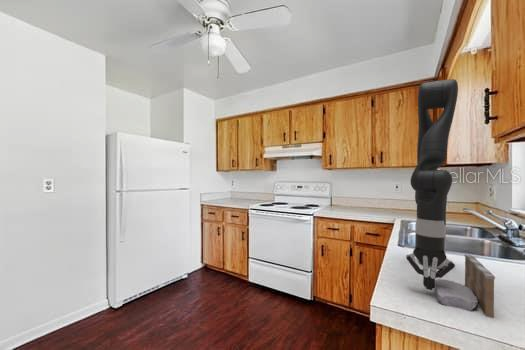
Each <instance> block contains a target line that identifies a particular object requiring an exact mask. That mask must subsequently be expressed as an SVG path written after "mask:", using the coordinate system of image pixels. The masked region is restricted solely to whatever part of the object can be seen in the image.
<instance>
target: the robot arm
mask: <svg viewBox="0 0 525 350" xmlns="http://www.w3.org/2000/svg"><path fill="white" fill-rule="evenodd" d="M458 93H459V85H458V81H457V80H456V79H454V78H450V79H443V80H442V79H441V80H435V81H426V82H423V83H421V84H420V86H419V88H418V91H417V117H418V131H417V133H418V134H417V144H416V145H417V146H416V147H417V149H416V163H417V164H416V166H415V168H414V170H413V171H412V174H411V176H410V181H409V182H410V187H411V188H412V189H413V190H414V191H415V192H414V193H415V194H414V201H415V204H416V220H415V233H414V235H415V239H414V241H415V242H414V243H415V244H414V245H415V247H414V249H413V251H412V253H410V254H406V255H405V257H406V260H407V261H408V262H409V264H410V265H411V267H412V268H413V269H414V271H415V272H416V273H417V274H418V275H422V276H423V277H422V282H423V283H422V284H423V287H424V288H425V289H426V290H430V291H433V289H434V290H435V280H436V278H437V279H441V278H443V277H444V276H445V275H447V274H449V272H450V271H452V270H453V269H454V268H455V267H456V265H455V263H454V262H453V261H452V260H449V258H448V257H447V255H446V250H447V249H446V248H447V247H446V245H447V244H446V242H447V241H446V240H447V239H446V238H447V237H446V236H447V235H446V234H447V229H446V228H447V221H446V220H447V201H448V195H449V192H450V189H451V187H452V184H453V177H452V176H453V175H452V174H451V173H450V172H449V171H448V170H446V169H439V168H440V167H441V166H442V165H443V164H445V163H446V161H447V158H448V148H449V147H448V144H449V136H450V131H451V128H452V125H453V124H452V123H453V120H454V115H455V111H456V107H457V102H458V101H457V100H458V95H459V94H458ZM434 109H435V110H436V109H442V112H441V114H440V115H439V117H438V118H437V120H436V121H435V122H434V121H433V120H432V118H431V114H430V110H434ZM416 259H417V262H418V263H419V264H420V265H422V268H421V267H420V266H419V265H418V264H417V263H416ZM437 269H438V270H437Z"/></svg>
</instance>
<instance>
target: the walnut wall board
mask: <svg viewBox="0 0 525 350" xmlns="http://www.w3.org/2000/svg"><path fill="white" fill-rule="evenodd" d="M464 259H465V261H464V286H466V287H467V288H469V289H470V290H471V291H472V292H473V293H474V295H475V296H476V297H477V301H478V304H477V306H478V307H479V308H480V310H481V311H482V312H483V314H484V315H485V317H488V318H492V319H493V318H494V316H495V315H494V314H495V313H494V312H495V311H494V310H495V280H496V276H495V275H494V274H493V273H492V272H491V271H490V270H488V268H487V267H485V266H484V264H482V262H480V260H478V259H477V258H476V257H474V255H473V254H472V253H470V254H469V253H464Z"/></svg>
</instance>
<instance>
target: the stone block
mask: <svg viewBox="0 0 525 350" xmlns="http://www.w3.org/2000/svg"><path fill="white" fill-rule="evenodd" d="M434 293H435V296H436V300H437V302H438V303H439V304H441V305H442V306H447V307H453V308H459V309H461V310H465V311H469V312H471V311H472V310H474V309H475V308H476V307H477V306H478V301H477V297H476V296H475V295H474V293H473V292H472V291H471V290H470V289H469V288H467V287H466V286H465V284H464V285H463V284H461V283H458V282H455V281H453V280H449V279H448V280H447V279H441V278H437V279H435V288H434Z"/></svg>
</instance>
